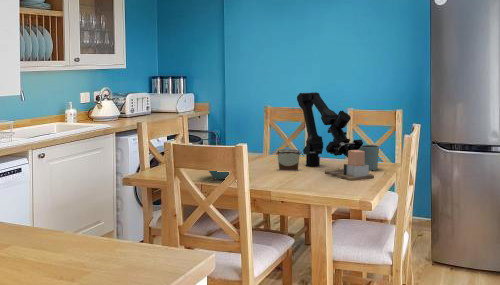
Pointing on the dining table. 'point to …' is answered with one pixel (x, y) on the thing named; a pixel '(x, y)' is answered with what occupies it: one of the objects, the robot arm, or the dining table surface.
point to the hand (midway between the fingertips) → (351, 159)
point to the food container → (288, 159)
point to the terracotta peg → (356, 157)
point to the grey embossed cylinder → (371, 156)
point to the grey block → (356, 170)
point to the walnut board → (341, 175)
